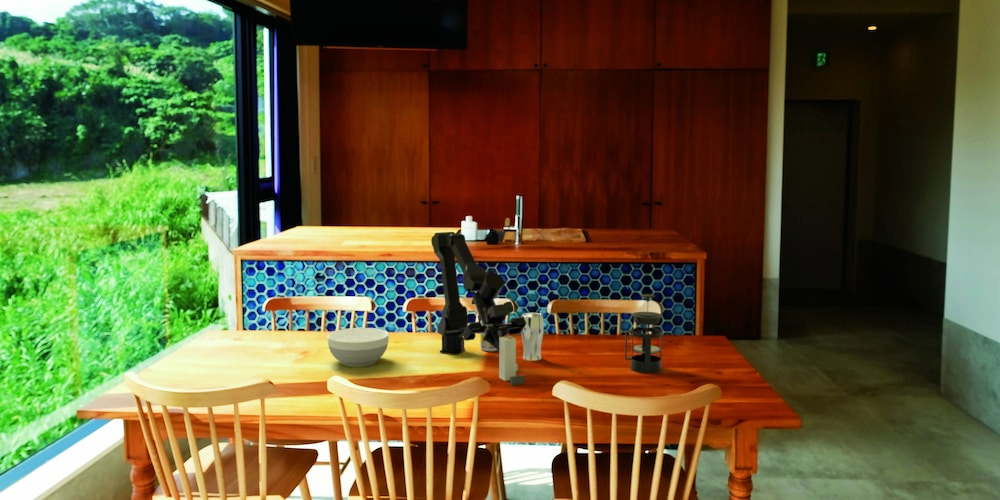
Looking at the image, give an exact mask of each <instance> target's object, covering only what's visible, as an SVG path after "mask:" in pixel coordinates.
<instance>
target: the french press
mask: <svg viewBox="0 0 1000 500" xmlns="http://www.w3.org/2000/svg"><path fill="white" fill-rule="evenodd" d="M640 297H641V298H645V299H646V301H645V302H647V303H646V311H637V312H633V313H632V317H633V322H634V323H635V324H639V325H644V326H641V327H640V326H639V327H634V328H632V329H630V330H625V332H624V333H625V335H624V340H625V341H624V358H625V360H626V361H630V367H629V368H630V370H631V371H633V372H636V373H640V374H655V373H660V372H661V371H662V343H663V342H662V339H663V331H662V329H660V328H656V327H649V326H652V325H653V326H654V325H658V324H659V323H660V321H661V318H663V314H661V313H659V312H653V311H649V302H650V299H652V298H655V297H656V296H655V295H654V294H650V293H646V294H641V295H640ZM641 332H642V333H641ZM649 332H650V333H649ZM628 333H631V349H630V350H631V356H630V357H627V352H628V351H627V350H628V349H627V344H628ZM634 337H635V338H641V340H642V341H641V344H639V345H634ZM652 339H660V340H659V341H660V343H659V344H660V345H659V347H658V346H656V345H652ZM633 345H634V346H633ZM633 352H635V353H636V354H634V353H633ZM658 353H659V356H657V355H653V354H658ZM633 354H634V355H633Z"/></svg>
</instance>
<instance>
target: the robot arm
mask: <svg viewBox="0 0 1000 500" xmlns="http://www.w3.org/2000/svg"><path fill="white" fill-rule="evenodd" d="M430 243H431V245H432V249H433V253H434V254H435V256H436V257H437V258H438V259H439V263H440V270H441V279H442V280H441V281H442V286H443V287H442V288H443V295H444V303H445V304H444V306H443V308H442V310H441V313H440V314H441V319H440V321H439V322H438V324H437V328H436V330H437V333H438V334H439V335H441V349H440V350H439V353H442V354H449V355H450V354H451V355H459V354H461V353H463V352H465V351H466V348H465V341H472V340H474V341H475V338H476V336H477V335H476V334H481V333H483V334H484V337H483V340H484V341H487V342H489V343H490V344H491V345H493V346H494V347H495V348H496V349H497V351H498V352H499V337H504V336H508V335H509V336H515V335H519V334H521V332H522V330H523V329H524V327H525V325H526V324H527V323H526V321H525V319H524V318H523V317H522V316H517V317H516V316H515V317H511V319H510V320H509V322H504V321H505V320H506V319H507V318H506V317H507V316H509V315H510V314H511V313H514V310H515V308H514V305H513V303H512V300H511V301H506V302H503V304H496V302H495V299H497V298H498V295H499V294H500V292H501V290H502V289H503V287H504V285H505V280H504V278H503V277H502V276H501V275H499V274H498V273H495V271H494V270H487V271H486V270H485V269H484V268H483V267H481V266H480V265H478V263H477V261H476V260H475V258H474V256H473V254H472V252H471V250H470V248H469V246H468V244H467V242H466V237H465V234H462V233H456V232H454V231H445V232H444V231H443V232H435V233H434V235H433V236H432V237H431V242H430ZM456 261H457V263H458V265H459V267H460V270H461V271H462V273H463V274H462V278H461V280H462V284H463V287H464V289H465V290H466V292H467V293H474V294H473V296H472V299H471V304H472V305H475V308H476V310H477V312H478V315H477V319H478V321H473V322H470V319H469V316H468V307H466V306H464V305H463V303H461V299H460V292H459V291H460V290H459V283H458V274H457V267H456V266H457V265H456ZM481 321H482V324H483V326H482V325H481V323H480V322H481Z"/></svg>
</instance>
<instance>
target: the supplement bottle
mask: <svg viewBox="0 0 1000 500" xmlns="http://www.w3.org/2000/svg"><path fill="white" fill-rule="evenodd" d="M479 322H480V323H481V325H482V326H483V324H482V321H481V320H480V321H479ZM483 337H484V334H483V333H480V350H482V351H484V352H485V351H486V352H497V351H498V350H497V349H496V348H495V347H494V346H493V345H491V344H490V343H489V342H487V341H484V340H483Z"/></svg>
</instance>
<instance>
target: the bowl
mask: <svg viewBox="0 0 1000 500" xmlns="http://www.w3.org/2000/svg"><path fill="white" fill-rule="evenodd" d="M389 334H390V333H389V332H388V331H386V330H385V329H381V328H376V327H375V328H374V327H350V328H343V329H338V330H335V331H332V332H330V333H329V334H327V337H326V338H327V345H328V349H329V351H330V353H331V354H332V356H333V357H334V358H335V360H337V361H338V362H340V363H341V364H342V365H343V366H347V367H353V368H354V367H356V368H357V367H367V365H368V366H372V365H374V364H376V363H377V361H378V360H379V359H380V358H382V357H383V355H384V354H385V352H386V351H387V348H388V344H389V338H390V337H389V336H390V335H389ZM375 362H376V363H375Z"/></svg>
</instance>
